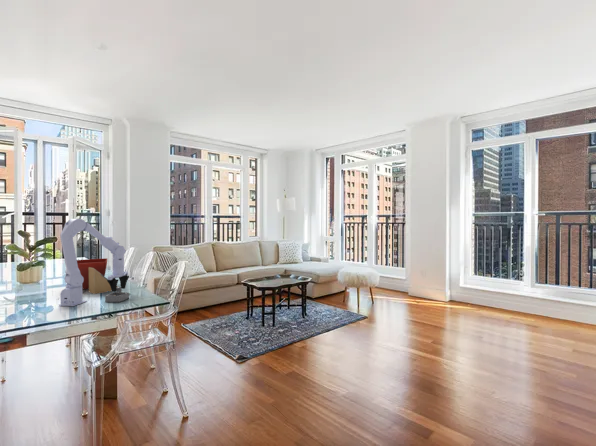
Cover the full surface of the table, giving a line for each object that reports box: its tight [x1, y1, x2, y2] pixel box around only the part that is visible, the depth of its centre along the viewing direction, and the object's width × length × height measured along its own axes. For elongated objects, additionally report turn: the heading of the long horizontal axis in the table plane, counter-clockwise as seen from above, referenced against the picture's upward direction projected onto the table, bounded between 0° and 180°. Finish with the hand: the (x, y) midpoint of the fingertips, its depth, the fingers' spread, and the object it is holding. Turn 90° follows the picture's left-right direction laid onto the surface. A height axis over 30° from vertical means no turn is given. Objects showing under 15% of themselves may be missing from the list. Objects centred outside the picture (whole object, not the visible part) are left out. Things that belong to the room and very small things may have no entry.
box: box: [104, 291, 130, 304], centre depth 178 cm, size 8×8×4 cm
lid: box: [116, 286, 132, 295], centre depth 188 cm, size 9×9×5 cm
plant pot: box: [77, 258, 108, 290], centre depth 209 cm, size 19×19×17 cm
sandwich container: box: [88, 267, 119, 295], centre depth 200 cm, size 9×15×15 cm, turn 142°
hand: (118, 290), depth 188 cm, fingers open, 7 cm apart
